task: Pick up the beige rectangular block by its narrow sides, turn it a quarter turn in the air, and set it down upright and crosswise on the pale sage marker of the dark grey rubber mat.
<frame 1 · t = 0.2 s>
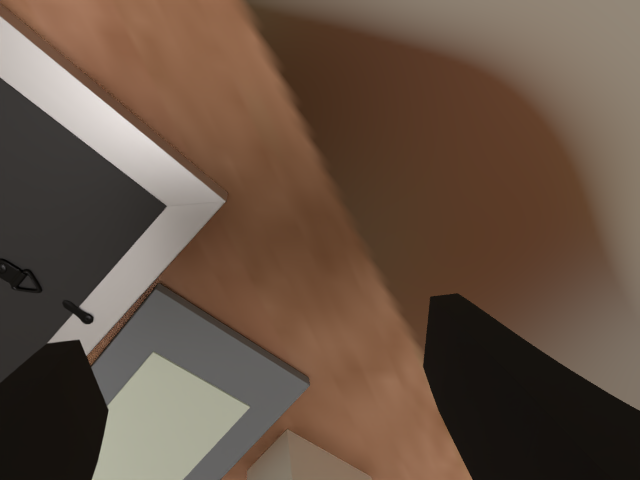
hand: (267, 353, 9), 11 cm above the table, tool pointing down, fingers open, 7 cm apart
mat: (154, 429, 22), on the table
beige rectangular block: (310, 473, 25), on the table
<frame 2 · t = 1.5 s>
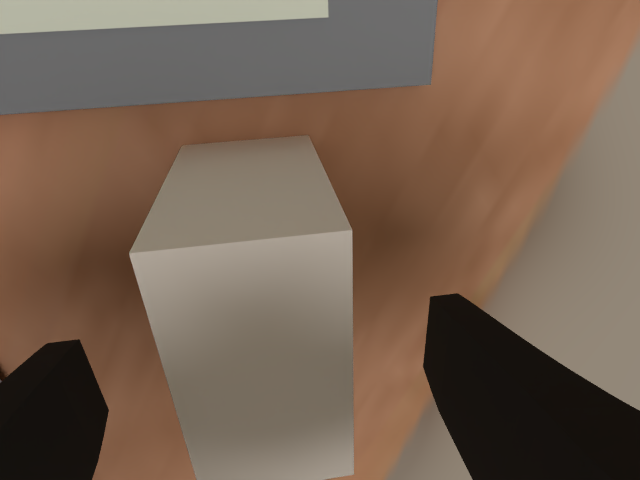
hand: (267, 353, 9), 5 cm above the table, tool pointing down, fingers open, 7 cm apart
beige rectangular block: (259, 241, 14), on the table
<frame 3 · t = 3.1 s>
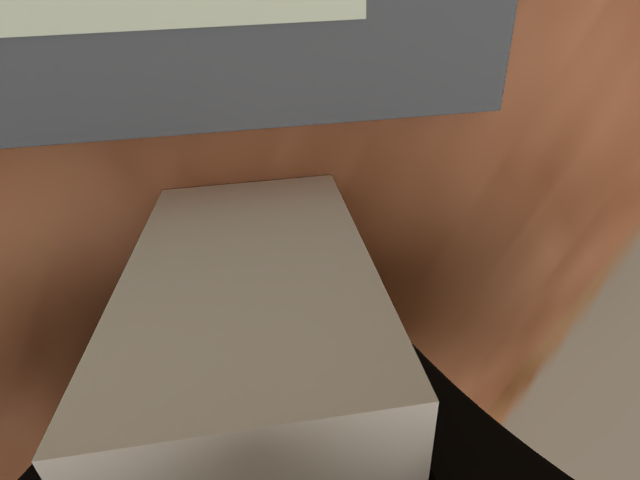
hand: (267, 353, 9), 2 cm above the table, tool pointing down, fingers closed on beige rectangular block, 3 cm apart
beige rectangular block: (264, 306, 10), on the table, touching gripper
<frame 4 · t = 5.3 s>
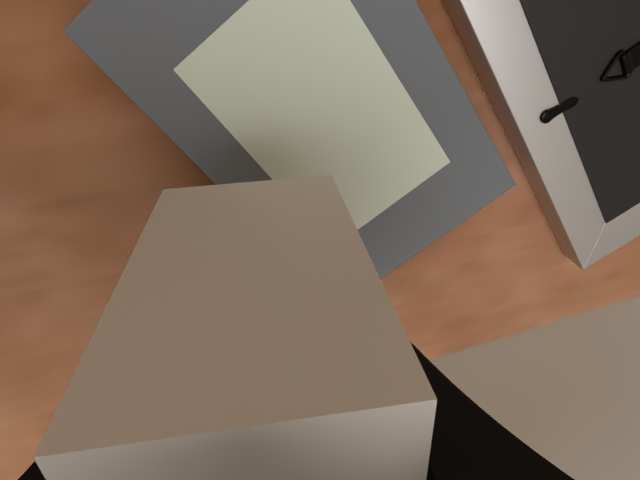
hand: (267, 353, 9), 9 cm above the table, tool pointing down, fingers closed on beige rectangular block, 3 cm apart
mat: (322, 115, 15), on the table
beige rectangular block: (264, 305, 11), point 7 cm above the table, touching gripper
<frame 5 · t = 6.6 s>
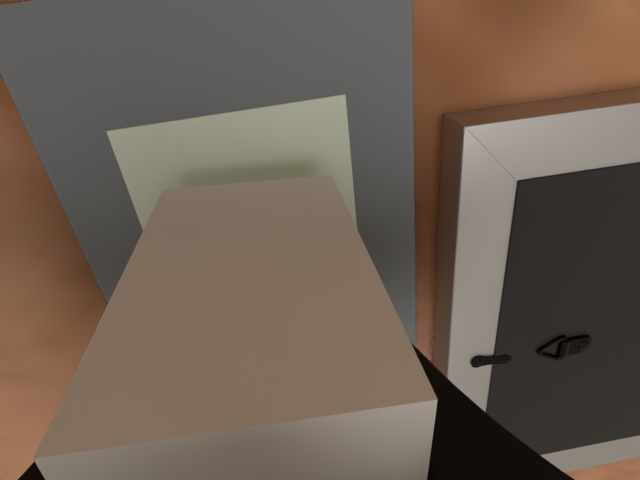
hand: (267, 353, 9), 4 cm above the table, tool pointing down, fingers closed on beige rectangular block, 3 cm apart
mat: (261, 253, 13), on the table
beige rectangular block: (264, 306, 11), point 3 cm above the table, touching gripper
when the fingers open (4 cm above the table, at t = 7.5 s): beige rectangular block drops 1 cm, resting on mat.
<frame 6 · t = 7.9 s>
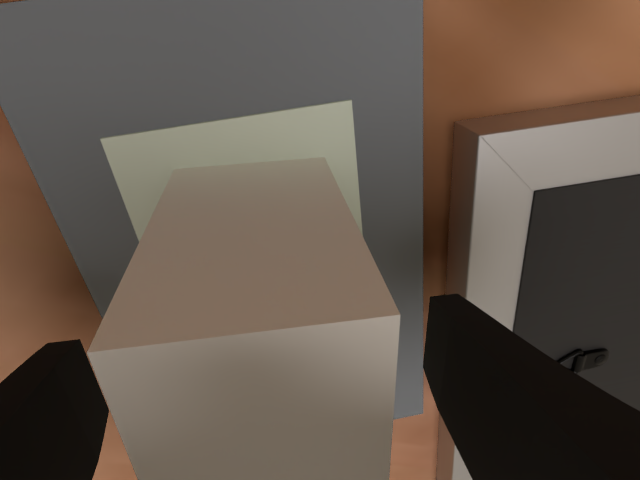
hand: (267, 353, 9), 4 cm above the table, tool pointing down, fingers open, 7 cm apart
mat: (263, 264, 12), on the table
beige rectangular block: (264, 278, 12), point 1 cm above the table, touching mat
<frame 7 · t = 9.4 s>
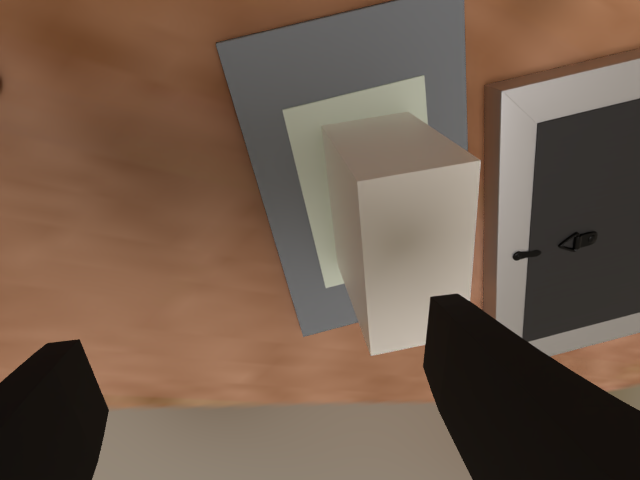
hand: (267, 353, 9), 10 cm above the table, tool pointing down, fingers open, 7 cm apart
mat: (365, 187, 19), on the table
beige rectangular block: (369, 193, 18), point 1 cm above the table, touching mat
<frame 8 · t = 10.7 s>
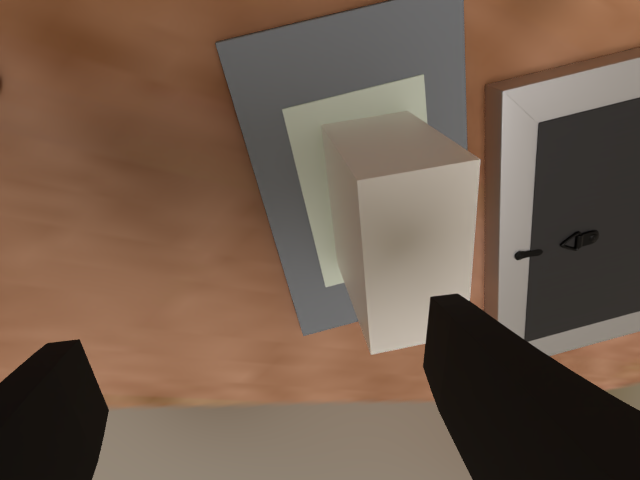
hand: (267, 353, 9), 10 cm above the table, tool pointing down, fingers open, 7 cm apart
mat: (365, 186, 19), on the table
beige rectangular block: (369, 192, 18), point 1 cm above the table, touching mat
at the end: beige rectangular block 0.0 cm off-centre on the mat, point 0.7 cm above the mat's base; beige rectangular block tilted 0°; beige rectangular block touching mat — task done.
